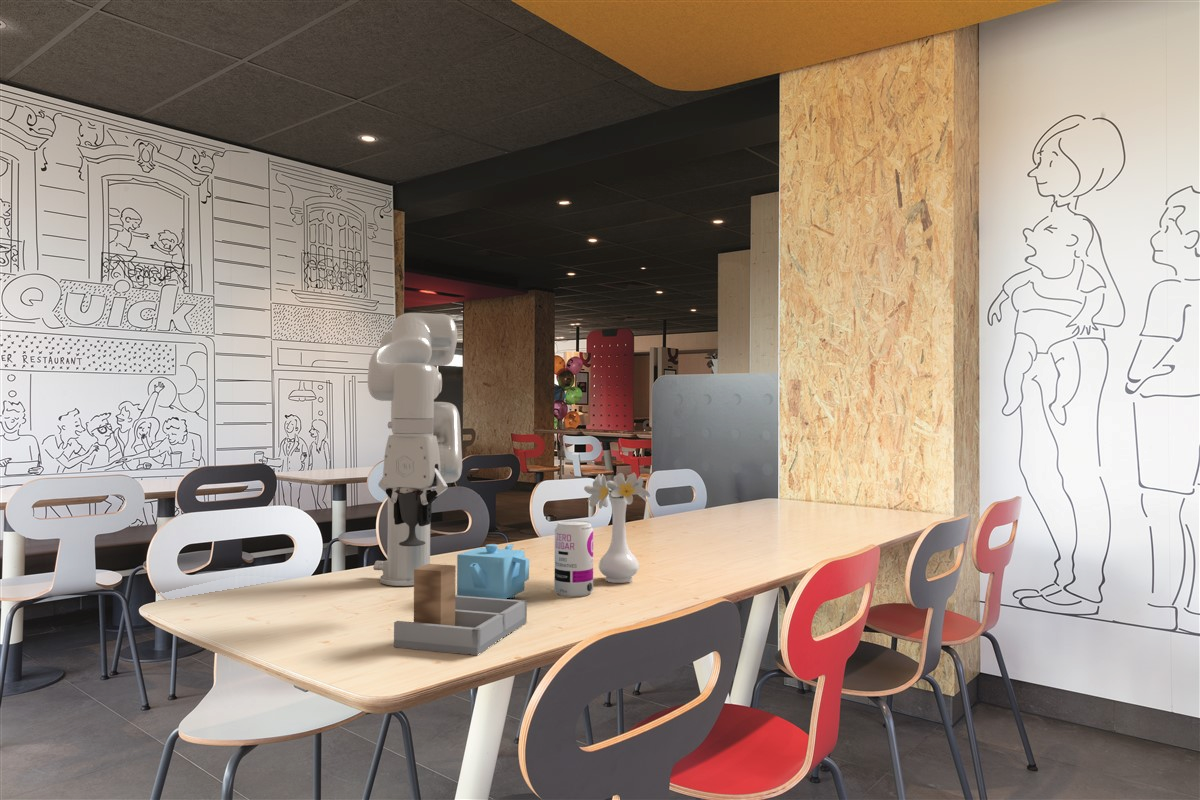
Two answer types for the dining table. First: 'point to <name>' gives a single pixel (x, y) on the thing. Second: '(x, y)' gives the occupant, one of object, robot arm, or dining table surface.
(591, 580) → the soda can
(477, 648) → the grey divided tray
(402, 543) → the sundae
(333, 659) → the dining table surface
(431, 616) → the walnut block
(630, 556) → the flower vase
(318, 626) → the dining table surface
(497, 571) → the teapot
